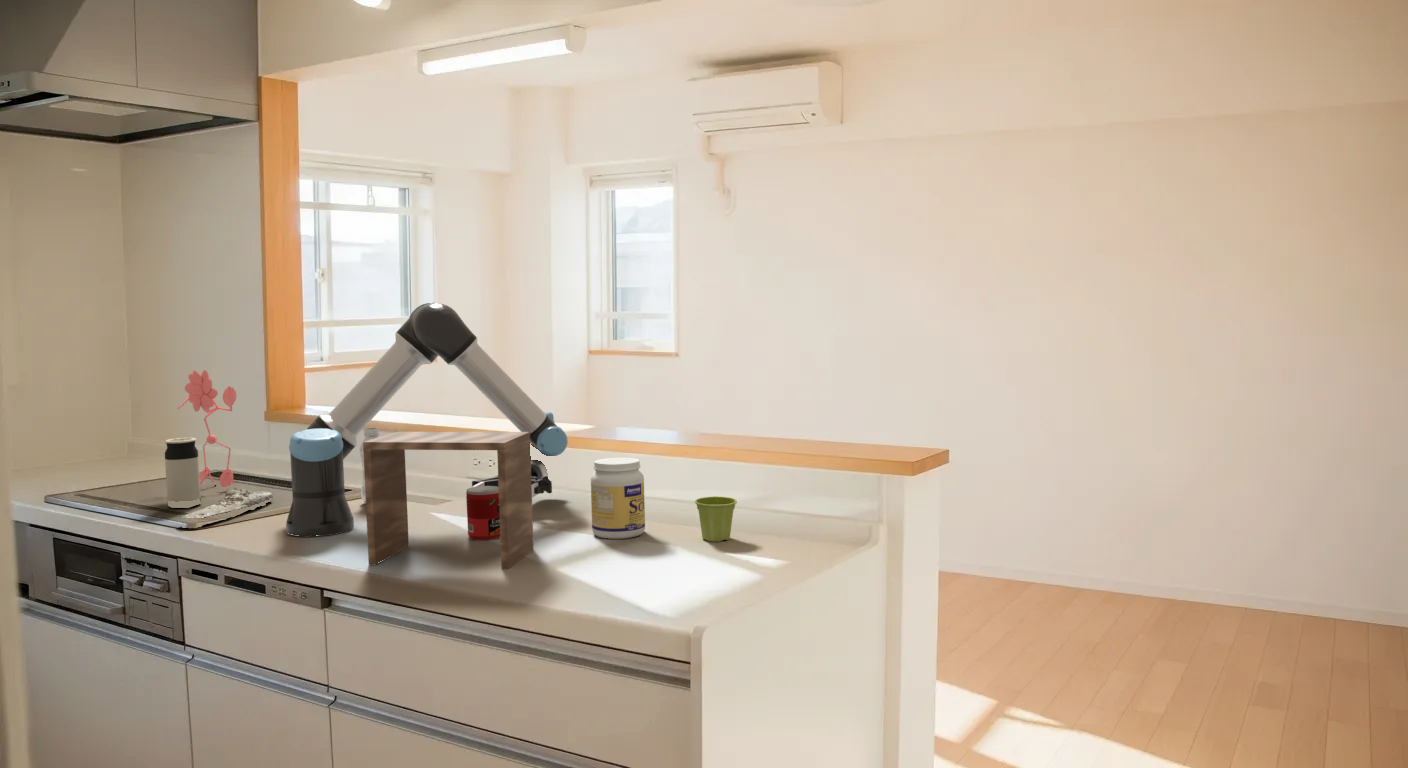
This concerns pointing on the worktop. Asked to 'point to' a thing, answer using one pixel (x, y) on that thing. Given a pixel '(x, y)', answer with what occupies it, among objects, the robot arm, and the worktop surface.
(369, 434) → the plastic bottle
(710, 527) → the plant pot
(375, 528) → the shelf riser
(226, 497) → the elongated rock
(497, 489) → the canned food
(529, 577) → the worktop surface
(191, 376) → the pink flower figurine
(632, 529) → the supplement tub
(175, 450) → the travel mug
